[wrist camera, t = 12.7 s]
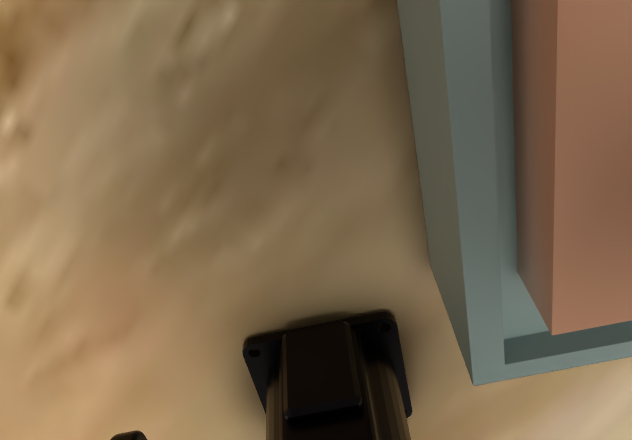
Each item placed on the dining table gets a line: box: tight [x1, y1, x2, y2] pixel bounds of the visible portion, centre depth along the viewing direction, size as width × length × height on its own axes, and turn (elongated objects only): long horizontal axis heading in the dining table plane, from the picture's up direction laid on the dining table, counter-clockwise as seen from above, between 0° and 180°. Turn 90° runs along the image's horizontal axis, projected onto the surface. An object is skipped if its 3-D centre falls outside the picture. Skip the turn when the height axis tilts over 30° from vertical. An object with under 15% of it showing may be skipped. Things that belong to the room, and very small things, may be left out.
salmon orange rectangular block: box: [511, 0, 632, 335], centre depth 14 cm, size 10×4×3 cm, turn 12°
